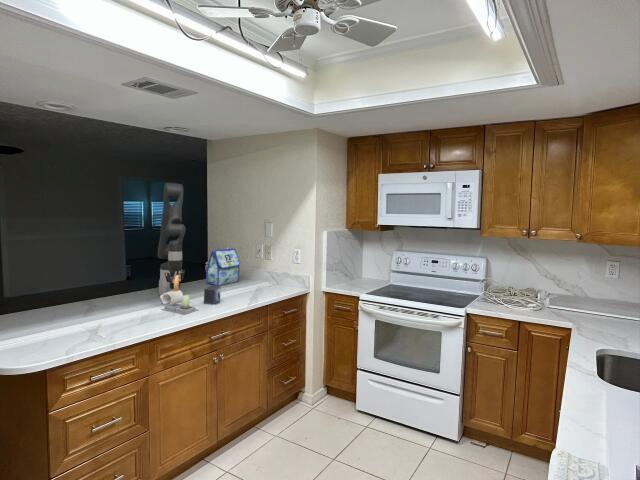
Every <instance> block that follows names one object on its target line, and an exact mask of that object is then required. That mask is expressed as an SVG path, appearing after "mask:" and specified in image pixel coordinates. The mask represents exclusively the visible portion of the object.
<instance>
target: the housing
mask: <svg viewBox="0 0 640 480" xmlns="http://www.w3.org/2000/svg"><path fill="white" fill-rule="evenodd" d="M160 311H165V312H169V313H174V314H178V315H182V316H187V315H189V314H192V313H194V312H195V313H196V312H198V311H199V309H197V308H196V306H191V305H189V309H187V310H185V309H182V303H179V302H177V303H172V304H170V303H167V304H166V305H165V304H164V308H162V309H160Z"/></svg>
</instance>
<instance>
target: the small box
mask: <svg viewBox="0 0 640 480" xmlns="http://www.w3.org/2000/svg"><path fill="white" fill-rule="evenodd" d="M203 292H204V293H203V305H210V306H213V305H218V304H220V303H221V285H218V286H216V285H214V284H211V285H210V286H207V287H205V288H204V290H203Z"/></svg>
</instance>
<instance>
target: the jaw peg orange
mask: <svg viewBox="0 0 640 480" xmlns="http://www.w3.org/2000/svg"><path fill="white" fill-rule="evenodd" d="M171 277H172V276H171ZM171 281H172V280H171ZM179 290H180V288H179V275H176V277H175V279H174V289H173V290H172V289H171V291H179Z"/></svg>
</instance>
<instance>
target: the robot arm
mask: <svg viewBox="0 0 640 480" xmlns="http://www.w3.org/2000/svg"><path fill="white" fill-rule="evenodd" d="M170 199H176V201H175V202H174V203H173V204H172V205H171V201H170ZM183 202H184V186H183V184H180V183H175V182H165V183H164V186H163V205H162V213H161V220H160V221H161V223H160V233H159V234H160V236H159V243H158V247H157V258H159V259H161V260H167V261H165V262H164V263H161V264H160V268H159V271H160V273H159V276H160V277H159V280H158V295H159V296H161V295H163V294H164V293H166V292H170V291H171V289H172V290H173V289H174V279H175V277H176V275H179V289H180V288H181V281H183V280H184V278H185V273H186V270H185V269H182V267H183V240H184V237H185V234H186V230H187V229H186V226H185V225H184V224H183V223H182V222H183V221H182V219H183V217H182V214H183V213H182V211H183V210H182V207H183ZM170 237H178V238H177V239H174V240H170V241H169V243H168V244H167V241H168V240H169V238H170ZM171 276H172V277H171ZM171 280H172V281H171Z"/></svg>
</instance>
